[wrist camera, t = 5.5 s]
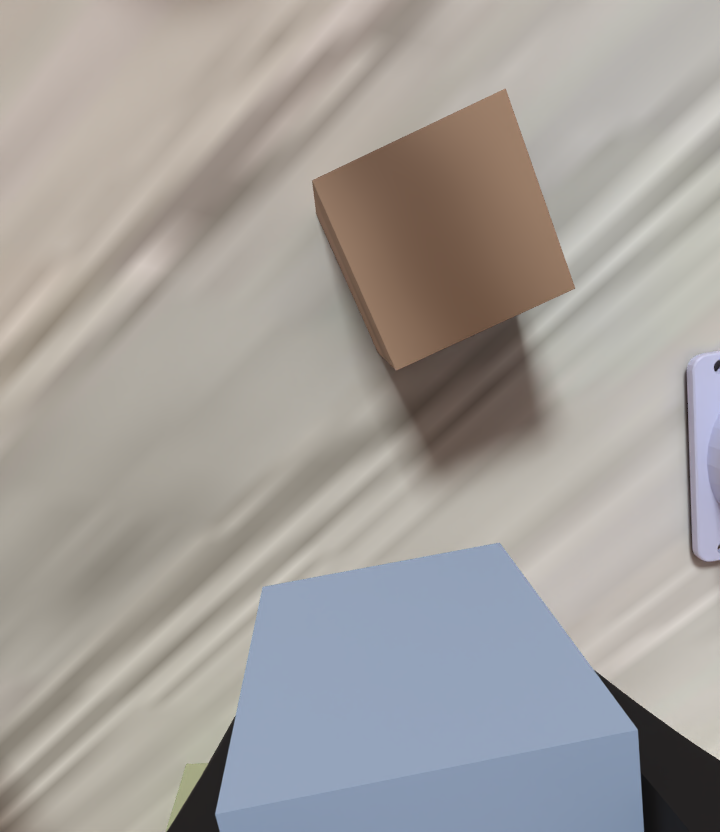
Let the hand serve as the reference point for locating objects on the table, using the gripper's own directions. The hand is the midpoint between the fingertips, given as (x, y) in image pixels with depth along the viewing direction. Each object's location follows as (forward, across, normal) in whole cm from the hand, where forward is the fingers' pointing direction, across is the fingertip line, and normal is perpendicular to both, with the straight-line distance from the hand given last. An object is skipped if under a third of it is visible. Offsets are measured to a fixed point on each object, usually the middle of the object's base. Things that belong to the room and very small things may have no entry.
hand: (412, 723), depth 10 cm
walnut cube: (+10, -3, -9) cm, 14 cm away
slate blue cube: (+2, 0, 0) cm, 2 cm away
